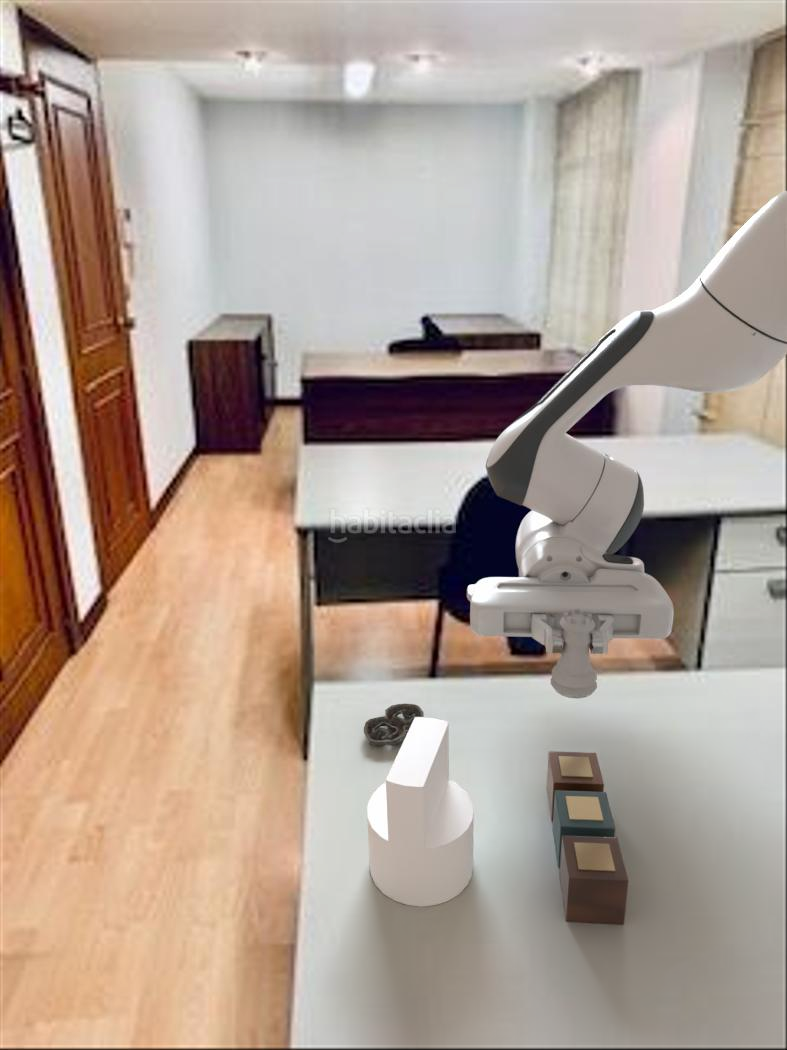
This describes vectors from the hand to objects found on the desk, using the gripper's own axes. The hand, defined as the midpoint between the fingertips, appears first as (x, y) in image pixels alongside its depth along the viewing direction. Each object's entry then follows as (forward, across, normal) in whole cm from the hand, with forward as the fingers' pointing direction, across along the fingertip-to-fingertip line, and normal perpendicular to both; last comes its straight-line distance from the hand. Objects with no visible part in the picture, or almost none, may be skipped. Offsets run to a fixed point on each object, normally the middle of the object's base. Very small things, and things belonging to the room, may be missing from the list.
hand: (577, 647), depth 71 cm
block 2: (+16, 0, +14) cm, 21 cm away
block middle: (+10, 0, +14) cm, 18 cm away
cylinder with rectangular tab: (+13, -14, +15) cm, 24 cm away
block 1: (+5, 0, +14) cm, 15 cm away
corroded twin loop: (-6, -18, +15) cm, 24 cm away
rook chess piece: (-1, 0, +5) cm, 5 cm away
